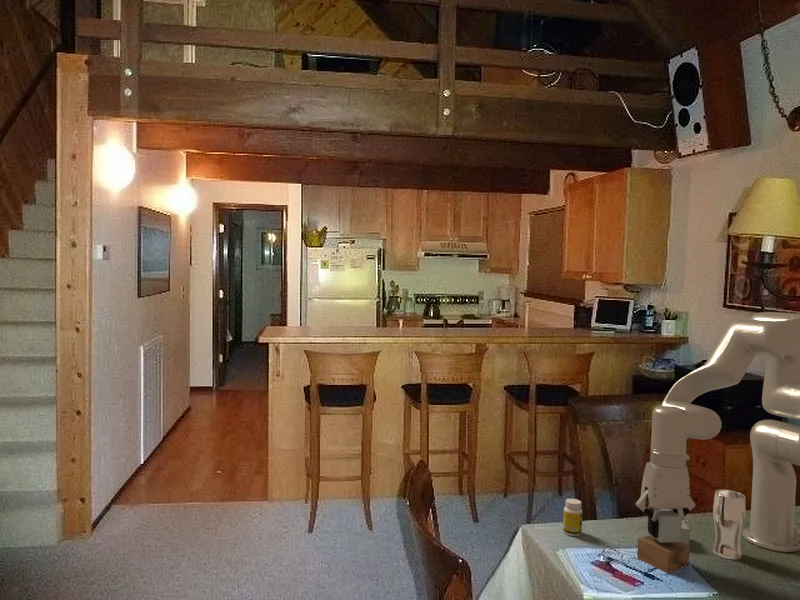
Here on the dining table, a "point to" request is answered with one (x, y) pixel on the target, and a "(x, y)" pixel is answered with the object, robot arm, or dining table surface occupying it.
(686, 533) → the grey block
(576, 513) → the supplement bottle
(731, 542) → the beer glass
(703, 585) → the dining table surface
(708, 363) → the robot arm
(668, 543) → the walnut block
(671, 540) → the painted block
